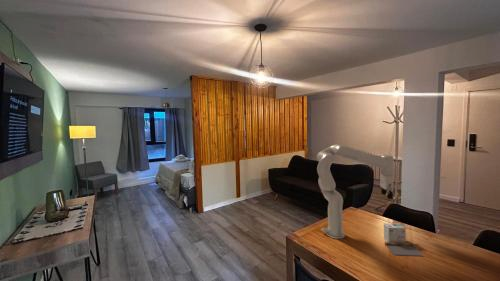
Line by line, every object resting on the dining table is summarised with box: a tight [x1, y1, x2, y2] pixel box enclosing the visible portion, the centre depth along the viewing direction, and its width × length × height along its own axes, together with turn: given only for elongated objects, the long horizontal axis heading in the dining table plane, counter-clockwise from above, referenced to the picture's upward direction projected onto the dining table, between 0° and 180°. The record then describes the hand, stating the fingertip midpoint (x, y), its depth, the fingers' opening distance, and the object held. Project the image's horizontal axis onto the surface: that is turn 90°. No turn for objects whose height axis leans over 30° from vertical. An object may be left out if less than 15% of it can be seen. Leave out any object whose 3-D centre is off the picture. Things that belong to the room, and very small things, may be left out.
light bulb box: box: [383, 222, 407, 243], centre depth 141 cm, size 11×7×11 cm, turn 84°
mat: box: [385, 245, 424, 257], centre depth 130 cm, size 16×10×1 cm, turn 81°
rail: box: [384, 241, 414, 247], centre depth 136 cm, size 16×2×2 cm, turn 81°
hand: (386, 196), depth 152 cm, fingers open, 9 cm apart
